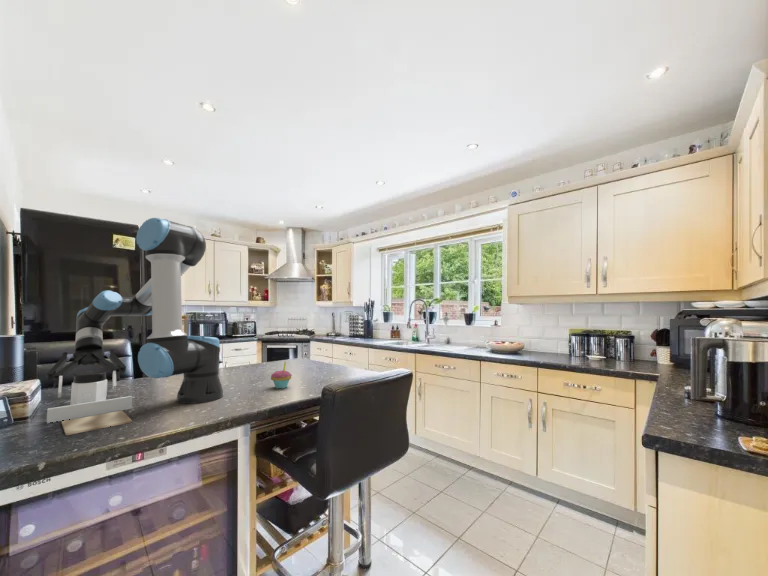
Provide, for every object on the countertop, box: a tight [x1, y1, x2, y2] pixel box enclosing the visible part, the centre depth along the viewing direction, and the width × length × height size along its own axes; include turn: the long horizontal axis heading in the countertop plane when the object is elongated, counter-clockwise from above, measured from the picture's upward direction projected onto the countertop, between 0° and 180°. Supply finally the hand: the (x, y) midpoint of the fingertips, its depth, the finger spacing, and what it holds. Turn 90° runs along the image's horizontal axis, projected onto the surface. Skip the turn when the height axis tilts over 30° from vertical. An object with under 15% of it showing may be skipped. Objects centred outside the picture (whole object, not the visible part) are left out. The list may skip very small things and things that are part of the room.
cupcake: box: [270, 360, 293, 389], centre depth 142 cm, size 9×8×12 cm
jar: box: [69, 370, 108, 405], centre depth 110 cm, size 9×8×12 cm
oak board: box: [61, 410, 133, 436], centre depth 97 cm, size 14×14×1 cm
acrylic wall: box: [46, 395, 133, 424], centre depth 104 cm, size 20×1×4 cm, turn 138°
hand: (88, 391), depth 110 cm, fingers open, 13 cm apart
